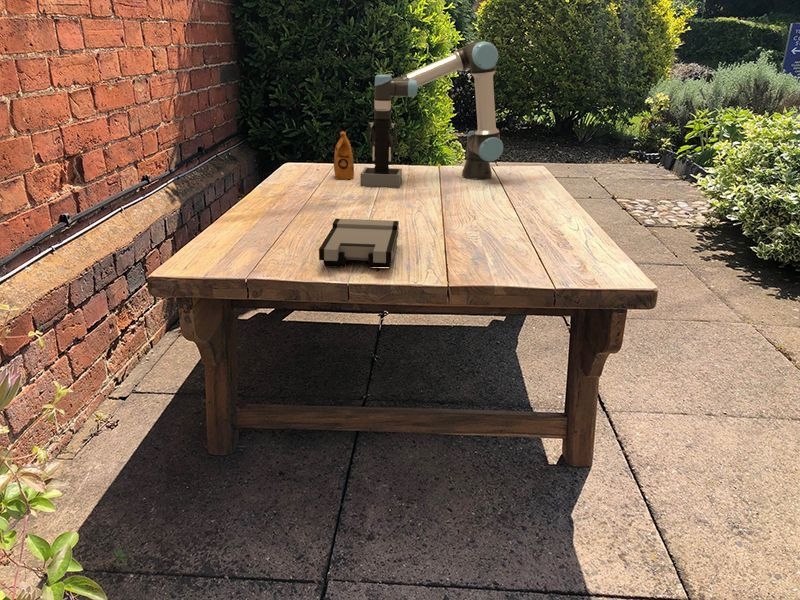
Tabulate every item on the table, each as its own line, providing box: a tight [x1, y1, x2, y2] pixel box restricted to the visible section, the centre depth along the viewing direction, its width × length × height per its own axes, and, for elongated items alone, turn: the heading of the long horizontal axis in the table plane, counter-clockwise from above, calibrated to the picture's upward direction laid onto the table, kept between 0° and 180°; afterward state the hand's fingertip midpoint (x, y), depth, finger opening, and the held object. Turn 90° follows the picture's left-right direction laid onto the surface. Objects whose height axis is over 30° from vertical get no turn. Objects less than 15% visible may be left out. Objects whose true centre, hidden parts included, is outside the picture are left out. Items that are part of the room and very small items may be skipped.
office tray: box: [318, 218, 400, 268], centre depth 208 cm, size 21×32×8 cm, turn 176°
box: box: [359, 167, 403, 189], centre depth 321 cm, size 18×18×6 cm
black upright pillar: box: [372, 119, 391, 174], centre depth 316 cm, size 10×26×10 cm
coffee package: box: [333, 130, 355, 180], centre depth 330 cm, size 10×12×22 cm
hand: (381, 160), depth 318 cm, fingers closed on black upright pillar, 7 cm apart
